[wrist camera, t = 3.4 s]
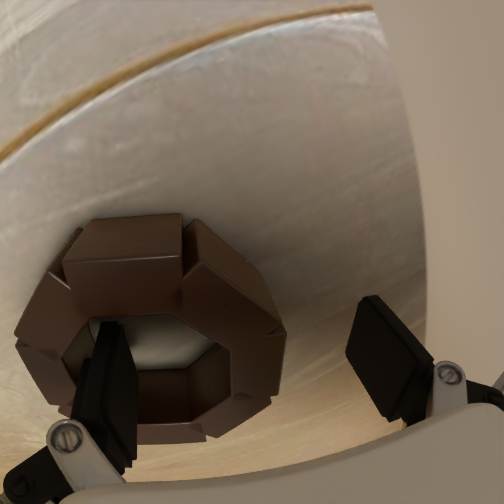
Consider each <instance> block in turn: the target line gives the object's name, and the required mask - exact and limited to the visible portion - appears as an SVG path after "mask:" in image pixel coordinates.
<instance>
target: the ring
mask: <svg viewBox="0 0 504 504" xmlns="http://www.w3.org/2000/svg"><path fill="white" fill-rule="evenodd" d="M155 314H172V315H174V316H175V317H177V318H178V319H180V320H181V321H183V322H184V323H186V324H188V325H189V326H191V327H192V328H194V329H195V330H197V331H199V332H200V333H202V334H203V335H205V336H207V337H208V338H210V339H211V340H213V341H215V342H216V343H217V344H216V345H215V346H214V347H212V348H211V349H210V350H209V351H208V352H206V353H205V354H204V355H203V356H202V357H201V358H199V359H198V360H197V361H196V362H195V363H193V364H192V365H191V366H190V367H189V368H187V369H180V370H163V371H139V372H137V373H138V377H139V396H138V420H137V445H156V444H182V443H197V442H206V435H208V436H211V437H214V438H219V437H220V436H222V435H224V434H225V433H227V432H229V431H230V430H232V429H234V428H235V427H237V426H238V425H240V424H242V423H243V422H245V421H246V420H248V419H249V418H251V417H253V416H254V415H256V414H257V413H259V412H260V411H262V410H263V409H265V408H266V407H268V406H269V405H271V403H272V401H271V398H270V397H271V396H277V395H278V394H279V387H280V380H281V374H282V367H283V359H284V352H285V345H286V337H287V332H286V330H285V328H284V326H283V324H282V321H281V318H280V316H279V314H278V312H277V309H276V307H275V305H274V303H273V301H272V298H271V296H270V294H269V292H268V290H267V288H266V285H265V283H264V281H263V279H262V277H261V274H260V272H259V271H258V270H257V269H255V268H254V267H253V266H252V265H251V264H250V263H248V262H247V261H246V260H245V259H244V258H242V257H241V256H240V255H239V254H238V253H237V252H235V251H234V250H233V249H232V248H231V247H230V246H228V245H227V244H226V243H225V242H224V241H222V240H221V239H220V238H219V237H218V236H217V235H215V234H214V233H213V232H212V231H211V230H210V229H208V228H207V227H206V226H205V225H204V224H203V223H201V222H200V221H199V220H197V219H195V220H194V221H193V222H192V223H191V224H190V225H189V226H188V227H187V228H186V229H185V230H184V231H183V223H182V215H181V214H166V215H151V216H138V217H125V218H113V219H102V220H91V221H90V222H89V223H88V224H87V226H86V227H85V229H84V230H81V229H80V228H77V229H76V230H75V232H74V233H73V234H72V235H71V237H70V238H69V239H68V241H67V242H66V243H65V245H64V246H63V248H62V249H61V250H60V252H59V253H58V254H57V256H56V257H55V259H54V260H53V262H52V263H51V264H50V266H49V267H48V269H47V270H46V272H45V274H44V275H43V277H42V279H41V281H40V282H39V284H38V286H37V288H36V290H35V291H34V293H33V295H32V297H31V299H30V301H29V303H28V305H27V307H26V308H25V310H24V312H23V314H22V316H21V318H20V320H19V322H18V325H17V327H16V329H15V331H14V335H15V336H16V337H18V340H17V342H16V344H15V347H16V349H17V351H18V353H19V355H20V357H21V358H22V360H23V362H24V364H25V366H26V367H27V369H28V371H29V373H30V374H31V376H32V378H33V380H34V381H35V383H36V385H37V386H38V388H39V389H40V391H41V393H42V394H43V396H44V397H45V399H46V400H47V402H48V403H49V404H50V405H59V408H58V412H59V413H60V414H62V415H64V416H66V417H68V418H70V415H71V410H72V405H73V401H74V396H75V392H76V387H77V383H78V379H79V375H80V371H81V367H82V363H83V360H84V359H85V358H92V354H93V350H94V346H95V345H94V342H93V339H92V336H91V334H90V331H89V328H88V325H87V323H88V322H89V320H90V319H91V318H92V317H113V316H136V315H155Z"/></svg>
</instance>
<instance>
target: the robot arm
mask: <svg viewBox="0 0 504 504" xmlns="http://www.w3.org/2000/svg"><path fill="white" fill-rule="evenodd" d="M345 353H346V357H347V359H348V361H349V362H350V364H351V366H352V367H353V369H354V371H355V372H356V374H357V376H358V377H359V379H360V380H361V382H362V384H363V385H364V387H365V389H366V390H367V392H368V394H369V395H370V397H371V399H372V400H373V402H374V404H375V405H376V407H377V409H378V410H379V412H380V414H381V415H382V416H383V417H386V419H387V420H388V422H389V423H390V422H392V421H395V420H397V419H400V417H401V418H402V420H403V426H402V430H399V431H397V432H395V433H392V434H390V435H387V436H384V437H382V438H379V439H376V440H374V441H371V442H368V443H365V444H362V445H359V446H357V447H353V448H350V449H347V450H344V451H341V452H338V453H334V454H331V455H328V456H324V457H320V458H317V459H313V460H309V461H305V462H301V463H297V464H292V465H288V466H283V467H279V468H274V469H268V470H263V471H257V472H252V473H245V474H239V475H231V476H223V477H214V478H204V479H192V480H178V481H154V482H126V481H125V479H124V478H123V477H122V475H123V474H124V473H125V468H132V460H136V459H137V420H138V396H139V377H138V373H137V370H136V367H135V364H134V361H133V357H132V354H131V351H130V347H129V344H128V341H127V337H126V334H125V330H124V327H123V325H118V322H117V321H102V322H101V324H100V327H99V331H98V335H97V338H96V342H95V346H94V350H93V354H92V358H85V359H84V360H83V363H82V367H81V371H80V375H79V379H78V383H77V387H76V392H75V396H74V401H73V405H72V410H71V415H70V419H62V420H59V421H57V422H55V423H54V424H53V425H52V426H51V427H50V428H49V430H48V432H47V435H46V443H47V446H45V447H44V448H42V449H41V450H39V451H38V452H37V453H35V454H34V455H32V456H31V457H29V458H28V459H26V460H25V461H23V462H22V463H21V464H19V465H18V466H16V467H15V468H13V469H12V470H10V471H9V472H8V473H7V474H6V476H5V478H4V482H3V488H4V492H3V493H2V494H0V504H504V389H503V390H502V392H501V391H499V390H498V389H496V388H494V387H490V386H486V385H483V384H479V383H476V382H472V381H468V380H466V377H465V373H464V371H463V370H462V369H461V368H460V367H459V366H458V365H457V364H455V363H453V362H450V361H441V362H439V363H437V364H436V365H434V364H433V361H434V359H433V357H432V356H431V355H430V354H429V353H428V351H427V350H426V349H425V348H424V347H423V345H422V344H421V343H420V342H419V341H418V340H417V338H416V337H415V336H414V335H413V334H412V333H411V332H410V330H409V329H408V328H407V327H406V326H405V325H404V324H403V322H402V321H401V320H400V319H399V318H398V317H397V316H396V315H395V313H394V312H393V311H392V310H391V309H390V308H389V307H388V306H387V305H386V303H385V302H384V301H383V300H382V299H381V298H380V297H379V296H378V295H372V296H365V297H363V298H362V300H361V301H360V302H359V303H358V307H357V311H356V314H355V318H354V322H353V326H352V329H351V333H350V336H349V340H348V343H347V346H346V350H345Z"/></svg>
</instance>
